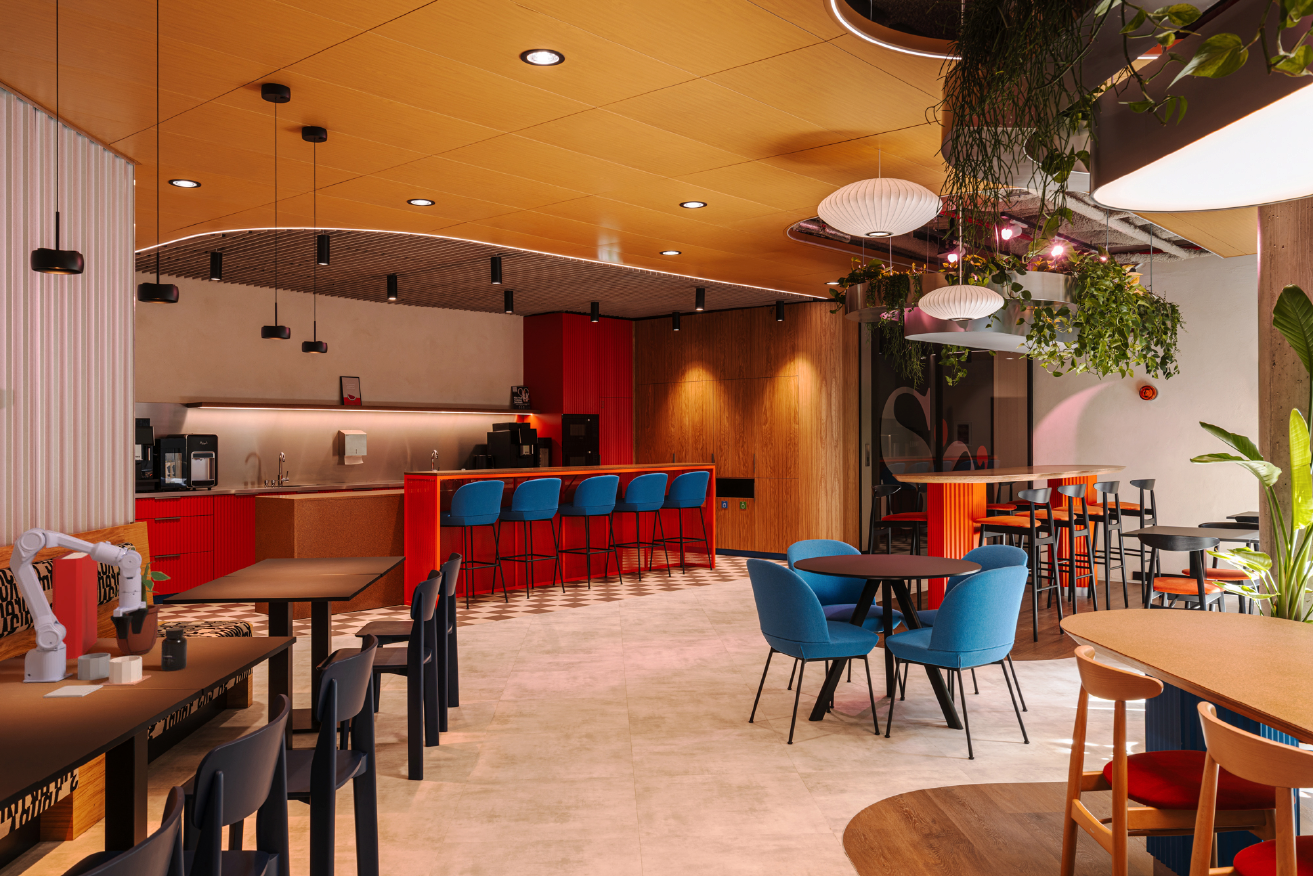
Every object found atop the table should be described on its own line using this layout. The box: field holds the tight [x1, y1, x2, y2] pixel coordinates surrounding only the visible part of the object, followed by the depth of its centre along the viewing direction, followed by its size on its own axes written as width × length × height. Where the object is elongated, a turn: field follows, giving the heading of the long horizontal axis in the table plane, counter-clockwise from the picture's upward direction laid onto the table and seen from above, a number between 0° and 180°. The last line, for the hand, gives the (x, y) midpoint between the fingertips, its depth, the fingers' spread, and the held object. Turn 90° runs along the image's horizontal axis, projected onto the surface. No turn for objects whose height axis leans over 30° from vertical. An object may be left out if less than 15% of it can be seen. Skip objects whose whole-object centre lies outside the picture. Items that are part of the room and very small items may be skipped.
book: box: [51, 550, 98, 660], centre depth 292 cm, size 27×8×32 cm, turn 23°
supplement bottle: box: [160, 627, 188, 672], centre depth 267 cm, size 7×7×12 cm
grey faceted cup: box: [77, 652, 111, 681], centre depth 258 cm, size 8×8×6 cm
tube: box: [99, 655, 152, 687], centre depth 252 cm, size 10×10×6 cm
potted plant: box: [111, 546, 171, 656], centre depth 290 cm, size 17×16×35 cm
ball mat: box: [43, 684, 104, 699], centre depth 241 cm, size 10×10×1 cm
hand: (129, 636), depth 264 cm, fingers open, 7 cm apart
